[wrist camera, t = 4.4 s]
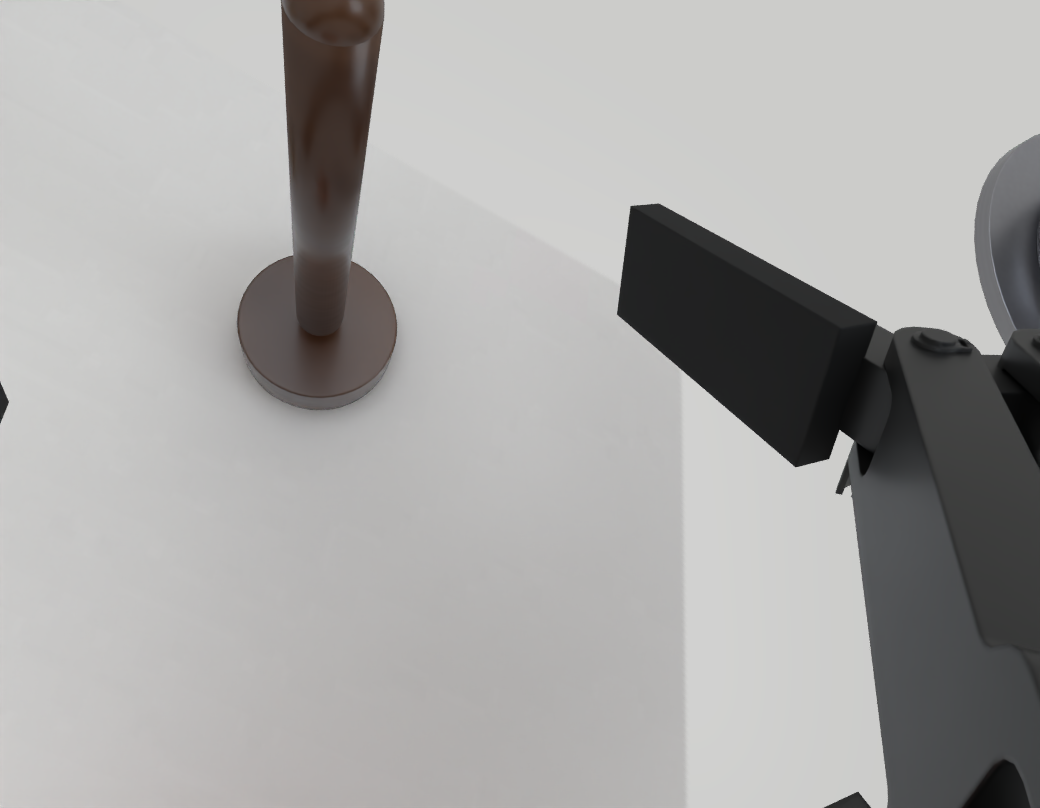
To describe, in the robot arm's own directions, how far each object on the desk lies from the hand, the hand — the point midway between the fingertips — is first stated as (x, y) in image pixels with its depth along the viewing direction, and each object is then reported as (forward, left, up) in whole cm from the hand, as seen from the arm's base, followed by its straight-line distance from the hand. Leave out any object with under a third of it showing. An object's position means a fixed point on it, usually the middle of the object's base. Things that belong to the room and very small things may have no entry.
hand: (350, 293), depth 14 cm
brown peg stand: (-1, -3, -13) cm, 13 cm away
